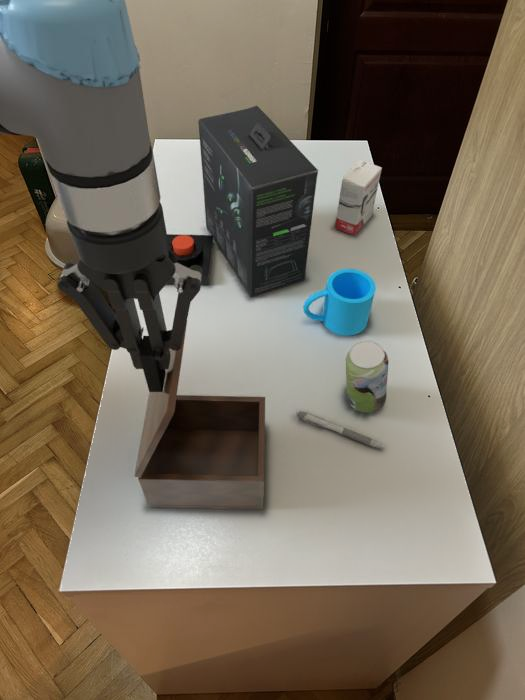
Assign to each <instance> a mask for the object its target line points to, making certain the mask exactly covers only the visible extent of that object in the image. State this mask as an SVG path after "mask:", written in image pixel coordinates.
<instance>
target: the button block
mask: <svg viewBox="0 0 525 700" xmlns="http://www.w3.org/2000/svg"><path fill="white" fill-rule="evenodd" d="M180 235H181V234H175V233H174V234H173V233H172V234H171V233H170V234H169V233H167V238H168V245H169V248H170V249H171V251H172V252H173V253H174V251H173V245H172V241H173V239H174V238H175V237H177V236H180ZM186 235H187V236H190V237H192V238H193V240H194V251H193V253H191V254H188V255H177V254H175V253H174V254H175V256H176V258H177V263H179V264H181V265H183V266H185V267H187V268H190V267H191V266H193V265H198V266H200V267H201V268H202V269H203V272H202V280H201V286H210V280H211V279H210V278H211V270H212V262H213V255H214V254H213V252H214V245H215V241H214V239H213V235H211V234H186ZM174 284H175V279H174V278H173V277H172V278H171V279H170V280H169V281H168V282H167V284H166V285H174ZM174 286H175V285H174Z"/></svg>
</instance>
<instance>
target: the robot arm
mask: <svg viewBox="0 0 525 700" xmlns="http://www.w3.org/2000/svg"><path fill="white" fill-rule="evenodd" d="M140 62H141V57H140V53H139V51H138V48H137V46H136V43H135V39H134V35H133V30H132V25H131V21H130V16H129V11H128V7H127V4H126V0H0V134H4V135H12V136H13V135H14V136H27V137H28V136H29V137H33V138H34V139H36V140H37V142H38V145H39V148H40V149H41V150H40V151H41V153H42V156H43V159H44V161H45V163H46V166H47V169H48V172H49V174H50V177H51V180H52V183H53V187H54V189H55V193H56V196H57V199H58V202H59V203H58V204H59V205H60V208H61V212H62V214H63V216H64V218H65V221H66V225H67V228H68V231H69V234H70V237H71V240H72V243H73V246H74V248H75V251H76V255H77V256H78V260H77V263H76V264H75V263H71V262H67V263H65V264H64V265H63V269H62V271H61V274H60V277H59V279H58V282H57V288H58V289H59V290H60V291H62V292H63V293H64V294H66V295H67V296H68V297H69V298H71V299H72V300H73V301H74V302H75V303H76V304H77V306H78V307H79V309H80V310H81V311H82V313H83V314H84V316H85V317H86V319H88V321H89V323H90V324H91V325H92V327H93V328H94V329H95V331H96V332H97V334H98V335H99V336H100V337H101V339H102V341H103V342H104V343H105V345H106V346H107V347H108V348H109V350H113V351H118V350H119V349H120V348H122V349H125V350H126V352H127V353H129V355H130V359H131V363H132V365H133V367H134V368H135V369H136V370H142V371H143V374H144V378H145V382H146V385H147V389H148V392H163V386H164V380H165V374H166V372H165V369H168V368H169V364H170V358H171V355H170V351H169V349H172V350H174V351H178V350H180V349H181V346H182V341H183V337H184V332H185V327H186V328H187V326H186V322H187V323H188V316H189V311H190V307H191V304H192V303H191V302H192V301H193V300H194V299H195V298H196V296H197V295H198V294H199V293H200V292H201V288H202V285H201V280H202V272H203V269H202V268H201V267H200V266H198V265H193V266H191V267H190V268H187V267H185V266H183V265H181V264H179V263H177V258H176V256H175V254H174V253H173V252H172V251H171V249H170V248H169V245H168V238H167V234H168V233H167V228H166V222H165V215H164V209H163V206H162V205H163V204H162V203H161V192H160V186H159V180H158V173H157V167H156V162H155V157H154V151H153V147H152V146H153V145H152V142H151V137H150V131H149V125H148V124H149V123H148V118H147V112H146V106H145V105H146V104H145V98H144V93H143V92H144V91H143V86H142V85H143V83H142V79H141V72H140V70H141V65H140ZM172 277H173V278H174V279H175V284H174V287H175V288H176V292H177V299H176V303H175V310H174V316H173V321H172V327H171V329H169V330H167V324H166V321H165V320H166V319H165V315H164V312H163V306H162V301H161V296H160V292H161V291H162V290H163V288H164V287H165V286H166V285H168V284H167V282H168V281H169V280H170V279H171V278H172ZM101 291H102V292H104V293H106V295H107V297H108V300H109V303H110V304H109V303H108V301H107V299H106V297H105V296H103V294H102V292H101ZM135 300H137V302H138V306H139V310H140V311H142V315H143V319H144V322H145V327H146V331H147V335H143V333H144V326H142V325H141V322H140V318H139V314H138V310H137V309H138V308H137V306H136V302H135ZM113 310H114V311H113Z"/></svg>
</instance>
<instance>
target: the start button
mask: <svg viewBox="0 0 525 700" xmlns="http://www.w3.org/2000/svg"><path fill="white" fill-rule="evenodd" d="M179 235H180V236H177V237H175V238H174V239H173V241H172V245H173V251H174V253H175V254H177V255H188V254H191V253H193V251H194V240H193V238H192V237H190V236H187V235H188V234H179Z"/></svg>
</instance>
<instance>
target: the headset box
mask: <svg viewBox="0 0 525 700" xmlns="http://www.w3.org/2000/svg"><path fill="white" fill-rule="evenodd" d="M197 121H198V135H199V146H200V159H201V171H202V184H203V187H202V188H203V198H204V199H203V200H204V214H205V215H204V216H205V227H206V228H205V229H207V231H208V232H209V235H213V241H214V243H216V245H217V247H218V249H219V250H220V252H221V253H222V254H223V256H224V258H225V259H226V261H227V263H228V264H229V266H230V268H231V270H232V271H233V272H234V274H235V275H236V277H237V278H238V280H239V281H240V283H241V285H242V286H243V288H244V290H245V291H246V293H247V295H248V296H249V298H253V297H257V296H259V295H263V294H266V293H270V292H272V291H275V290H279V289H282V288H284V287H287V286H290V285H293V284H296V283H300V282H303V281H305V280H306V271H307V263H308V255H309V246H310V238H311V231H312V222H313V213H314V205H315V204H314V203H315V197H316V189H317V181H318V176H319V175H318V174H319V169H318V168H317V167H316V166H315V165H314V164H313V163H312V162H311V161H310V160H309V159H308V158H307V156H305V154H303V152H301V150H300V149H299V148H298V147H297V146H296V145H295V144H294V143H293V142H292V141H291V140H290V139H289V137H288V136H287V135H285V133H284V132H283V131H282V130H281V129H280V128H279V127H278V126H277V124H276V123H275V122H274V121H272V119H271V118H270V117H269V116H268V115H267V114H266V113H265V112H264V111H263V110H262V109H261V107H259V105H254V106H251V107H247V108H246V107H245V108H241V109H238V110H233V111H228V112H224V113H219V114H216V115H211V116H206V117H202V118H197Z"/></svg>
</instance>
